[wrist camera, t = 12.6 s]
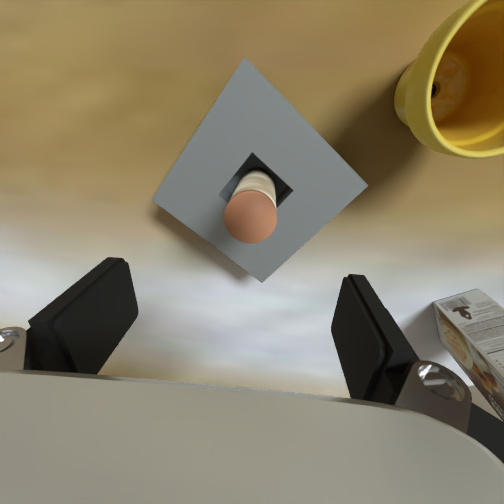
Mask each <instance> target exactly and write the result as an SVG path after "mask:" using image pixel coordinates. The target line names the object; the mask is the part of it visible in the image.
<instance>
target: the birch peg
mask: <svg viewBox="0 0 504 504" xmlns="http://www.w3.org/2000/svg"><path fill="white" fill-rule="evenodd" d="M276 223H277V212H276V195H275V181H274V177H273V175H272V174H271V172H270V171H268V170H267V169H265V168H263V167H253V168H250V169H249V170H247V171H246V172H245V173H244V175H243V177H242V179H241V180H240V182H239V184H238V186H237V188H236V190H235V192H234V193H233V195H232V197H231V199H230V201H229V203H228V204H227V206H226V208H225V211H224V224H225V227H226V229H227V231H228V232H229V233H230V235H231V236H232V237H234V238H235V239H236V240H238V241H241V242H244V243H251V244H252V243H259V242H261V241H263V240H265V239H267V238H268V237H269V236H270V235H271V234H272V233H273V231H274V229H275V227H276Z"/></svg>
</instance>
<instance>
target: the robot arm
mask: <svg viewBox="0 0 504 504" xmlns="http://www.w3.org/2000/svg"><path fill="white" fill-rule="evenodd" d="M137 316H138V306H137V301H136V297H135V292H134V287H133V283H132V278H131V273H130V269H129V265H128V263H127V262H125V260H124V259H123V258H114V257H108V258H106V259H105V260H104V261H102V262H101V263H100V264H99V265H97V266H96V267H95V268H94V269H92V270H91V271H90V272H89V273H87V274H86V275H85V276H84V277H82V278H81V279H80V280H79V281H77V282H76V283H75V284H74V285H72V286H71V287H70V288H69V289H67V290H66V291H65V292H64V293H62V294H61V295H60V296H59V297H57V298H56V299H55V300H54V301H52V302H51V303H50V304H49V305H47V306H46V307H45V308H44V309H42V310H41V311H40V312H39V313H37V314H36V315H35V316H34V317H32V318H31V319H30V320H29V321H28V322H29V324H30V326H31V327H30V328H29V329H28V330H27V331H26V330H25V329H23V328H21V327H7V328H3V329H0V504H504V422H503V421H501V420H499V419H498V418H496V417H494V416H493V415H491V414H490V413H488V412H486V411H485V410H483V409H481V408H480V407H478V406H477V405H475V404H473V403H472V402H471V401H472V397H471V392H470V390H469V388H468V386H467V385H466V384H465V382H464V381H463V380H462V379H461V378H460V377H459V376H458V375H456V374H455V373H454V372H453V371H451V370H449V369H448V368H446V367H444V366H442V365H440V364H438V363H435V362H431V361H420V359H419V358H418V356H417V355H416V353H415V352H414V350H413V349H412V347H411V345H410V344H409V342H408V341H407V339H406V338H405V336H404V335H403V333H402V331H401V330H400V328H399V327H398V325H397V324H396V322H395V321H394V319H393V317H392V316H391V314H390V313H389V311H388V310H387V309H386V308H385V307H384V305H383V304H382V302H381V301H380V299H379V298H378V296H377V294H376V293H375V291H374V290H373V288H372V287H371V285H370V283H369V282H368V280H367V279H366V277H365V276H364V275H356V274H349V275H348V277H344V278H343V281H342V285H341V289H340V293H339V297H338V301H337V305H336V309H335V313H334V317H333V321H332V325H331V332H332V336H333V340H334V343H335V346H336V350H337V353H338V356H339V360H340V363H341V366H342V370H343V373H344V376H345V380H346V383H347V386H348V390H349V393H350V397H351V399H350V398H341V397H332V396H324V395H315V394H305V393H295V392H284V391H274V390H263V389H253V388H242V387H232V386H221V385H210V384H199V383H187V382H176V381H165V380H154V379H142V378H130V377H118V376H106V375H97V374H98V372H99V371H100V369H101V368H102V366H103V365H104V364H105V362H106V361H107V359H108V358H109V356H110V355H111V354H112V352H113V351H114V349H115V348H116V346H117V345H118V344H119V342H120V341H121V339H122V338H123V337H124V335H125V334H126V332H127V331H128V329H129V328H130V327H131V325H132V324H133V322H134V321H135V319H136V318H137Z"/></svg>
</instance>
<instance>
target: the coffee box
mask: <svg viewBox="0 0 504 504" xmlns="http://www.w3.org/2000/svg"><path fill="white" fill-rule="evenodd" d="M433 307H434V312H435V317H436V321H437V326H438V331H439V336H440V341H441V343H442V344H443V345H444V347H445V348H446V349H447V350H448V352H449V353H450V354H451V356H452V357H453V358H454V359H455V361H456V362H457V363H458V364H459V366H460V367H461V368H462V369H463V371H464V372H465V373H466V375H467V376H468V377H469V378H470V380H471V381H472V382H473V383H474V385H475V386H476V387H477V389H478V390H479V391H480V392H481V394H482V395H483V396H484V397H485V399H486V400H487V401H488V402H489V404H490V405H491V406H492V408H493V409H494V410H495V411H496V413H497V414H498V415H499V416H500V418H501V419H502V420H503V422H504V308H503V307H502V306H500V305H499V304H498V303H497V302H495V301H494V300H493V299H491V298H490V297H489V296H487V295H486V294H485V293H484V292H482V291H481V290H480V289H475V290H472V291H468V292H465V293H462V294H458V295H455V296H452V297H448V298H445V299H442V300H438V301H435V302H433Z"/></svg>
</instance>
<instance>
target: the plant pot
mask: <svg viewBox="0 0 504 504" xmlns="http://www.w3.org/2000/svg"><path fill="white" fill-rule="evenodd" d="M432 84H435V86H436V92H435V94H434V96H432V97H431V90H432ZM394 107H395V111H396V114H397V116H398V118H399V119H400V120H401V121H402V122H403V123H404V124H405V125H407V126H408V127H410V129H411V131H412V133H413V134H414V136H415V137H416V138H417V139H418V140H419V141H420V142H421V143H422V144H423V145H424V146H426V147H428V148H430V149H432V150H434V151H437V152H440V153H444V154H447V155H452V156H457V157H463V158H472V159H479V158H489V157H494V156H498V155H502V154H504V0H470V1H469V2H468V3H466V4H465V5H463V6H462V7H461V8H459V9H458V10H457V11H455V12H454V13H453V14H452V15H451V16H450V17H448V18H447V19H446V20H445V21H444V22H443V23H442V24H441V25H440V26H439V27H438V28H437V29H436V31H435V32H434V33H433V34H432V35H431V37H430V38H429V39H428V41H427V42H426V44H425V45H424V47H423V48H422V50H421V52H420V53H419V55H418V57H417V58H416V59H415V60H414V61H413V62H412V63H411V64H410V65H409V67H408V68H407V69H406V70H405V71H404V73H403V74H402V76H401V78H400V80H399V82H398V84H397V87H396V91H395V95H394Z"/></svg>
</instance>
